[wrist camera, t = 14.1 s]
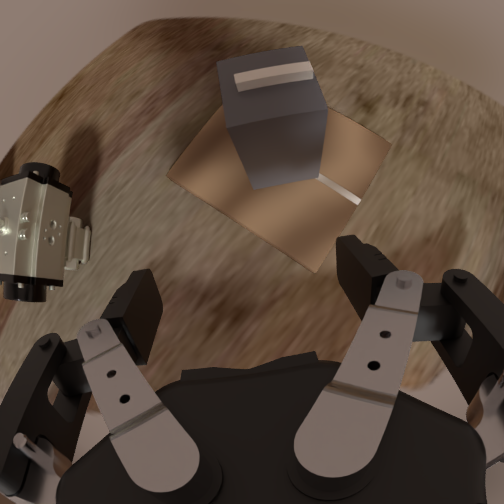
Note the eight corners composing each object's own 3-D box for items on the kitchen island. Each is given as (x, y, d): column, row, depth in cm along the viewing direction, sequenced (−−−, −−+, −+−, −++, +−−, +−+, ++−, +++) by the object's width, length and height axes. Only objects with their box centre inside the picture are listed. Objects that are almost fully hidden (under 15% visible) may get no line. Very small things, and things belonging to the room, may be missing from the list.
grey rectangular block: (253, 189, 25) (222, 120, 14) (243, 135, 25) (213, 53, 15) (318, 177, 24) (329, 100, 13) (303, 123, 25) (302, 37, 14)
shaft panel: (170, 180, 27) (141, 152, 21) (252, 80, 28) (243, 40, 22) (314, 273, 24) (322, 267, 18) (388, 150, 25) (409, 116, 19)
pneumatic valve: (63, 298, 27) (-23, 295, 15) (72, 196, 29) (-3, 160, 17) (99, 303, 26) (7, 302, 15) (107, 191, 28) (30, 146, 16)
